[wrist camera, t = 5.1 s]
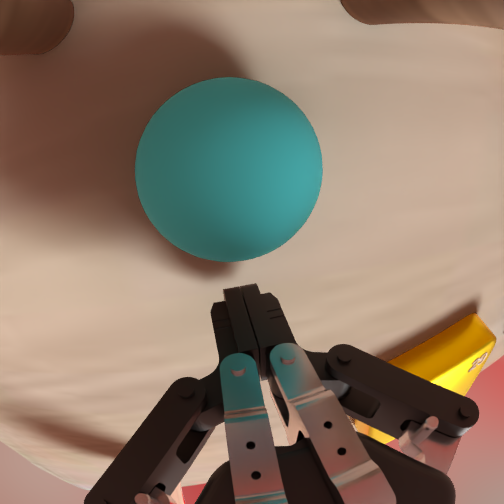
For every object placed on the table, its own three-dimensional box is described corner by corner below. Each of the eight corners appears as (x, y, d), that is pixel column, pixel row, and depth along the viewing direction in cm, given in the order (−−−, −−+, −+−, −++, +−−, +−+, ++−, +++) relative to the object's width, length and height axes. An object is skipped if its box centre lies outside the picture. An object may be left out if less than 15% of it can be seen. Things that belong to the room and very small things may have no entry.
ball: (379, 109, 6) (280, 55, 10) (108, 150, 5) (120, 78, 8) (339, 271, 10) (276, 178, 14) (169, 320, 9) (150, 206, 13)
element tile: (353, 426, 34) (367, 456, 30) (351, 373, 25) (373, 418, 21) (449, 374, 34) (466, 399, 30) (478, 303, 25) (505, 335, 21)
